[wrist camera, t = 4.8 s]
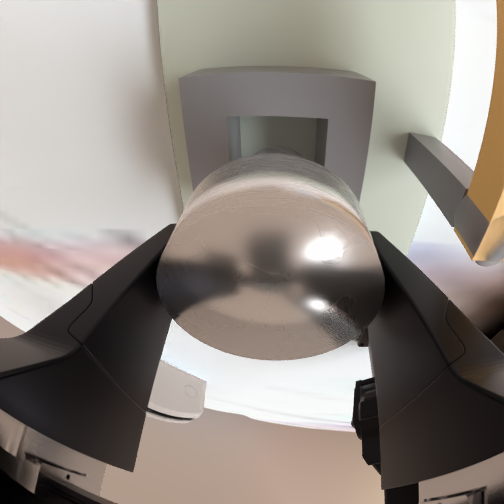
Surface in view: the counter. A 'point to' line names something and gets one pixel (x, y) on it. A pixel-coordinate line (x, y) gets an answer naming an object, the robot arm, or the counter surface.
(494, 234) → the bar
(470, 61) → the counter surface
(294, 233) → the pin
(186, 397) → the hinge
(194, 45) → the block
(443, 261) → the counter surface
